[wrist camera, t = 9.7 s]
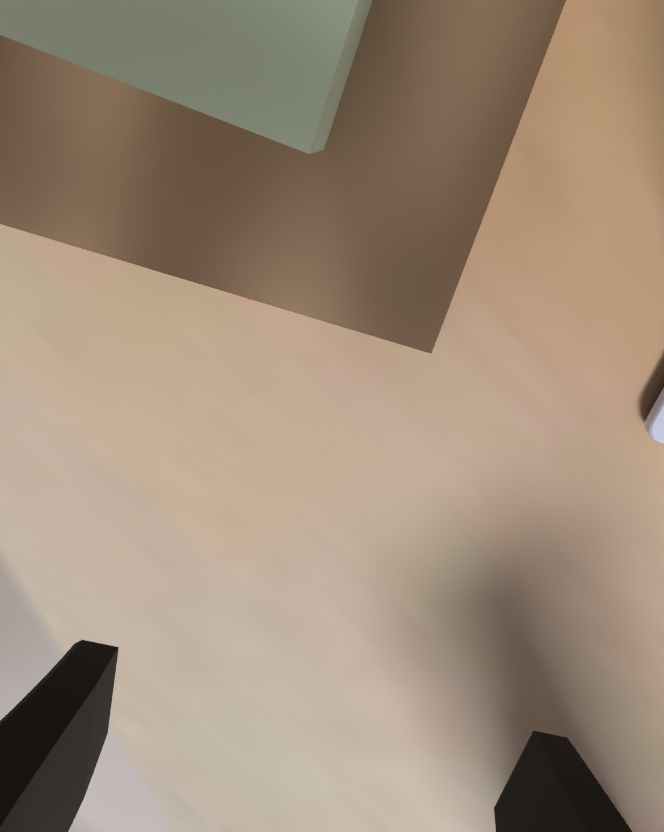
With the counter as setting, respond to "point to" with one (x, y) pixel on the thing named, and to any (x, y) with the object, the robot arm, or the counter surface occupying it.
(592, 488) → the counter surface
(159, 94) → the sage block
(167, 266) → the walnut slab
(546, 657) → the counter surface
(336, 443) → the counter surface
